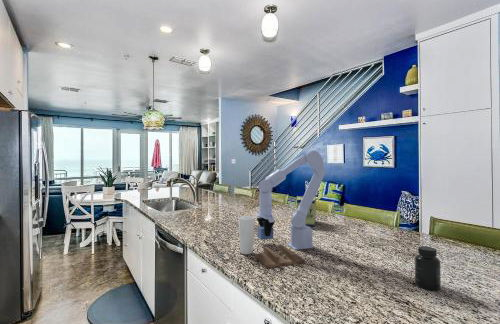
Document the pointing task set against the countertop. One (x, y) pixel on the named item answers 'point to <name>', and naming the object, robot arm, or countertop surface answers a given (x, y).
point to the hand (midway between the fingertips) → (265, 234)
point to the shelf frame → (278, 257)
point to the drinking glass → (246, 234)
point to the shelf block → (262, 233)
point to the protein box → (309, 212)
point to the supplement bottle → (427, 269)
